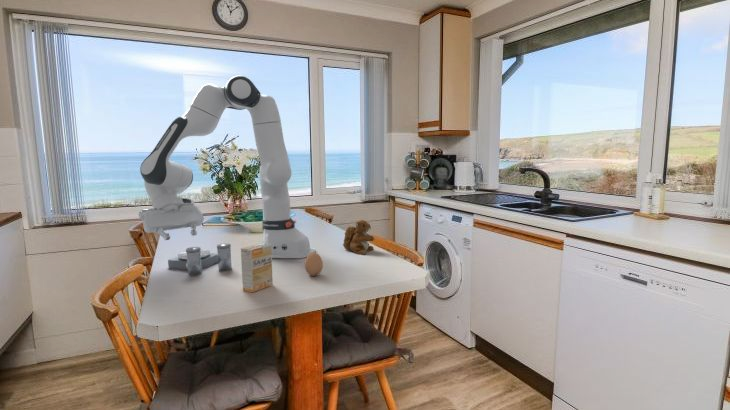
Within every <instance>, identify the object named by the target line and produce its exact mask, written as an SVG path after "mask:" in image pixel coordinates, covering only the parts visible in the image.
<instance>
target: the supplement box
mask: <svg viewBox="0 0 730 410" xmlns="http://www.w3.org/2000/svg"><path fill="white" fill-rule="evenodd" d="M240 257H241V259H240V260H241V277H242V278H241V280H242V281H241V282H242V290H243V291H246V292H249V293H256V292H258V291H260V290H262V289H265V288H268V287H270V286H273V281H274V280H273V279H274V278H273V258H272V252H271V245H270V244H264V243H263V242H262V243H261V242H260V243H258V244H254V245H253V244H252V245H249V246H246V247H241V248H240Z"/></svg>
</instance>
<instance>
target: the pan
mask: <svg viewBox="0 0 730 410" xmlns="http://www.w3.org/2000/svg"><path fill="white" fill-rule="evenodd" d="M200 251H201V258H204V257H207V256H209V255H210V253H211V251H210V250H208V249H201V250H200ZM177 257H178V258H179V259H182V260H187V253H186V250H185V251H182V252H179V253H178V254H177Z"/></svg>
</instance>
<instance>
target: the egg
mask: <svg viewBox="0 0 730 410" xmlns="http://www.w3.org/2000/svg"><path fill="white" fill-rule="evenodd" d="M305 258H306V259H305V261H304V269H305V271H306V273H307V274H308V275H309V276H312V277H315V276H316V277H317V276H318V275H320V273H322V270H323V267H324V264H323V260H322V259H323V258H322V257H321V256H320V254H318V253H317V252H315V253H314V252H313V253H310V254H309V255H308V256H307V257H305Z"/></svg>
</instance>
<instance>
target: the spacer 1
mask: <svg viewBox="0 0 730 410" xmlns="http://www.w3.org/2000/svg"><path fill="white" fill-rule="evenodd" d="M200 250H202V248H201V247H200V246H191V247H187V248H186V249H185V251H186V253H187V266H188V270H187V276H189V277H194V276H196V277H197V276H199V275H202V274H203V269H202V265H201V251H200Z"/></svg>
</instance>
